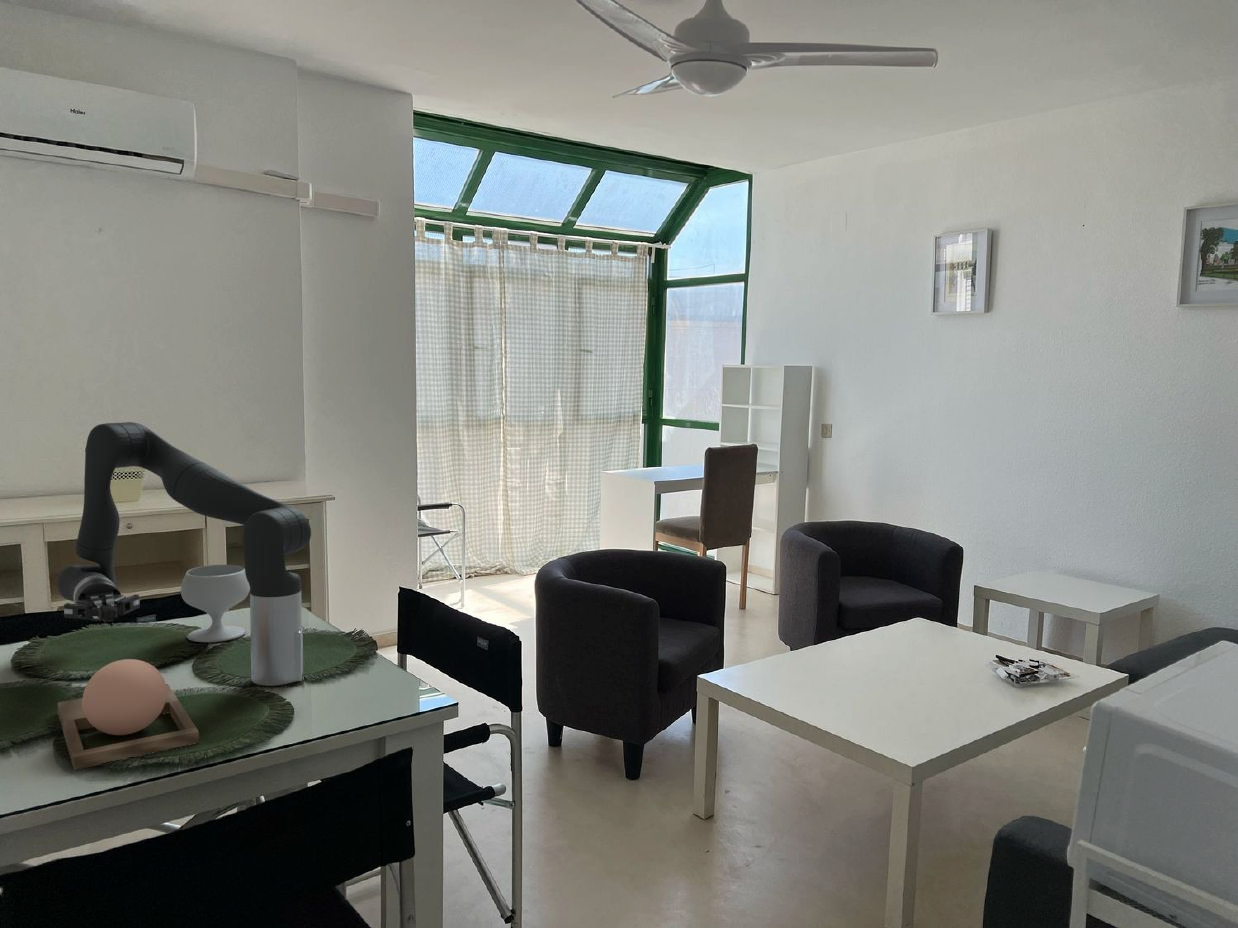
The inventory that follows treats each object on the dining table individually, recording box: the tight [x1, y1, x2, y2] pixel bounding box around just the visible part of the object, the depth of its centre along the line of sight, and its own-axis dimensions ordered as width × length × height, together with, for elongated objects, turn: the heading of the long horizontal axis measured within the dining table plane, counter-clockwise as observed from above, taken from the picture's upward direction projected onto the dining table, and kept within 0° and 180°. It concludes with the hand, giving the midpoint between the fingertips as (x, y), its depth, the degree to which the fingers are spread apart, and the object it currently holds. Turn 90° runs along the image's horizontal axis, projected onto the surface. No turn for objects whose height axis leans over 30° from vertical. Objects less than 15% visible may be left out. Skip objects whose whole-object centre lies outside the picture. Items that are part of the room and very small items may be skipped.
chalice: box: [180, 564, 250, 643], centre depth 194 cm, size 14×14×15 cm
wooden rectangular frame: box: [57, 683, 200, 771], centre depth 143 cm, size 17×26×2 cm, turn 37°
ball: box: [82, 658, 167, 736], centre depth 141 cm, size 12×12×12 cm
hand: (108, 615), depth 157 cm, fingers closed
